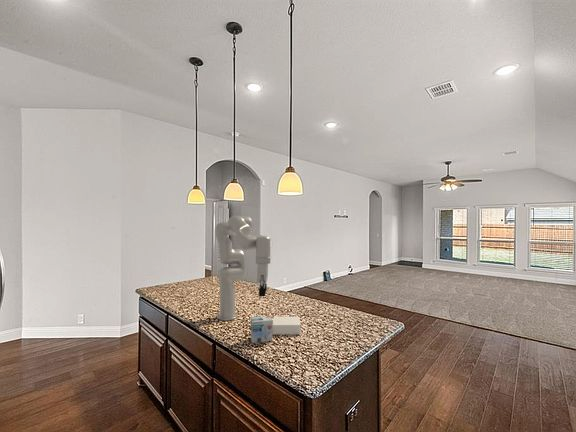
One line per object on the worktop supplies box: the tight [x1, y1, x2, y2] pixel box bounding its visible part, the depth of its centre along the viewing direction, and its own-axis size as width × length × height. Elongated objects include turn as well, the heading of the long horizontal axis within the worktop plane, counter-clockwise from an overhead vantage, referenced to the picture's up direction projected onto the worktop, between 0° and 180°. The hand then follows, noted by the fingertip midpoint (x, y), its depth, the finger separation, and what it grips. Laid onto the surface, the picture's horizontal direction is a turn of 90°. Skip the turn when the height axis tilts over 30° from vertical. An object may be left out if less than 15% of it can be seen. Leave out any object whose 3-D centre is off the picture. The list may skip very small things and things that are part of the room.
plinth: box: [272, 316, 301, 335], centre depth 157 cm, size 13×15×5 cm
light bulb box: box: [250, 315, 273, 344], centre depth 144 cm, size 11×7×11 cm, turn 105°
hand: (262, 293), depth 144 cm, fingers open, 9 cm apart
